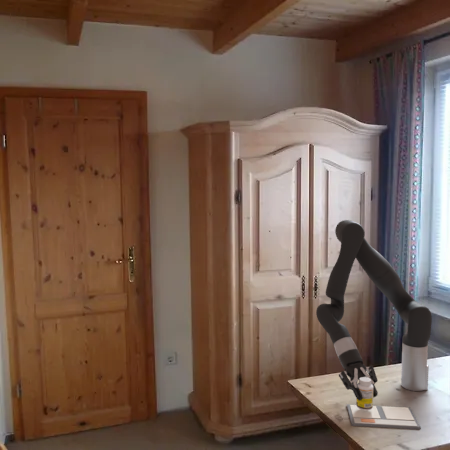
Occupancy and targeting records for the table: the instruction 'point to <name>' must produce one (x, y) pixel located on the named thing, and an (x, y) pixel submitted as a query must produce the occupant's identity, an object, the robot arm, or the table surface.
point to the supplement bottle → (365, 394)
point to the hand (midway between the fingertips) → (368, 397)
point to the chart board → (383, 417)
